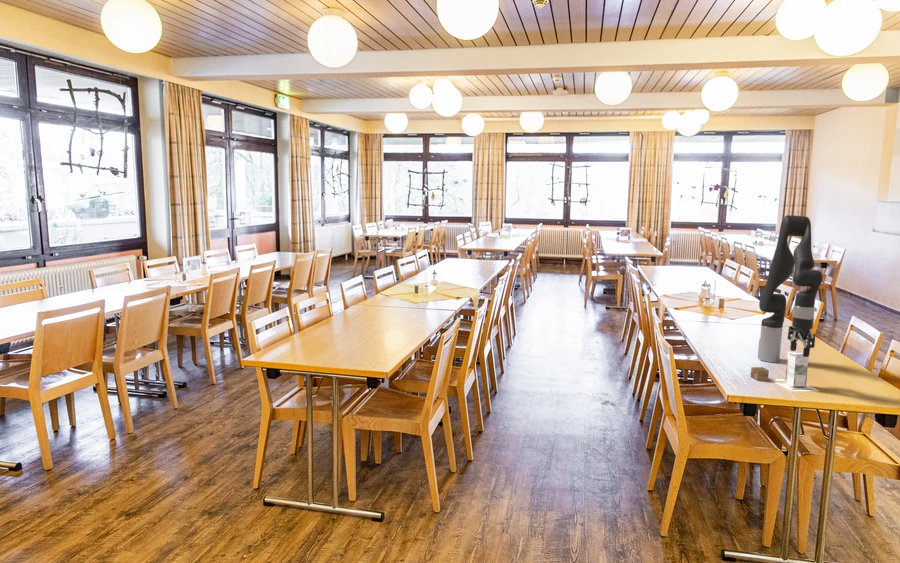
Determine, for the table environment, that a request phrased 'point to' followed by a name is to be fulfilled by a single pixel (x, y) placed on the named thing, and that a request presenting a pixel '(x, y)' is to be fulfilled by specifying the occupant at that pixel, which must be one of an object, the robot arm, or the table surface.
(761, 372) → the walnut block
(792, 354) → the syrup box
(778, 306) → the robot arm
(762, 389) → the table surface
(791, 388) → the letter
